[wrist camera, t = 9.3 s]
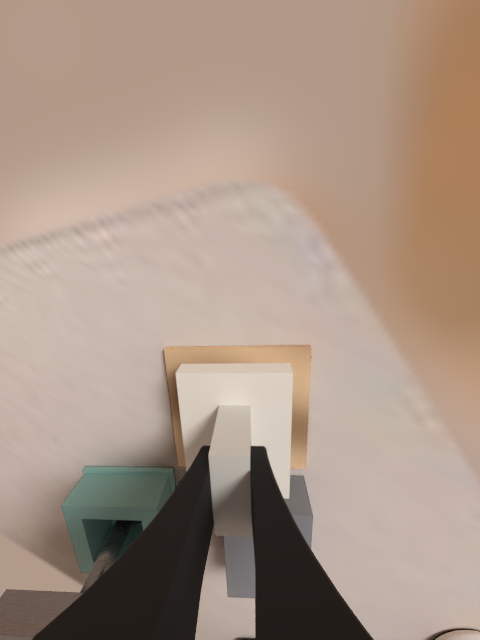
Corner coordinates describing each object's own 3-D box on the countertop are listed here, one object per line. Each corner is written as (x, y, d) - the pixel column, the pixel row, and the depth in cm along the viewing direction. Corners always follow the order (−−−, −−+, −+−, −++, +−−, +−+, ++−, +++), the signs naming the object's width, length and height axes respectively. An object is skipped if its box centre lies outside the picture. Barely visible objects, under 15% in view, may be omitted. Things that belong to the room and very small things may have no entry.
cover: (286, 481, 14) (299, 568, 10) (193, 479, 14) (171, 563, 11) (289, 363, 12) (307, 415, 8) (181, 363, 12) (149, 414, 9)
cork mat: (304, 463, 16) (305, 468, 15) (179, 461, 16) (178, 466, 16) (309, 345, 14) (311, 347, 13) (166, 346, 14) (163, 349, 14)
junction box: (300, 553, 18) (307, 600, 15) (230, 551, 18) (227, 596, 16) (303, 475, 16) (313, 516, 14) (226, 474, 16) (222, 513, 14)
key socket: (181, 534, 18) (170, 578, 15) (101, 531, 18) (78, 574, 16) (173, 467, 16) (159, 505, 14) (85, 466, 17) (57, 502, 14)
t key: (188, 494, 16) (150, 638, 10) (191, 519, 17) (156, 669, 11) (72, 492, 17) (-30, 628, 11) (79, 516, 17) (-14, 658, 11)
